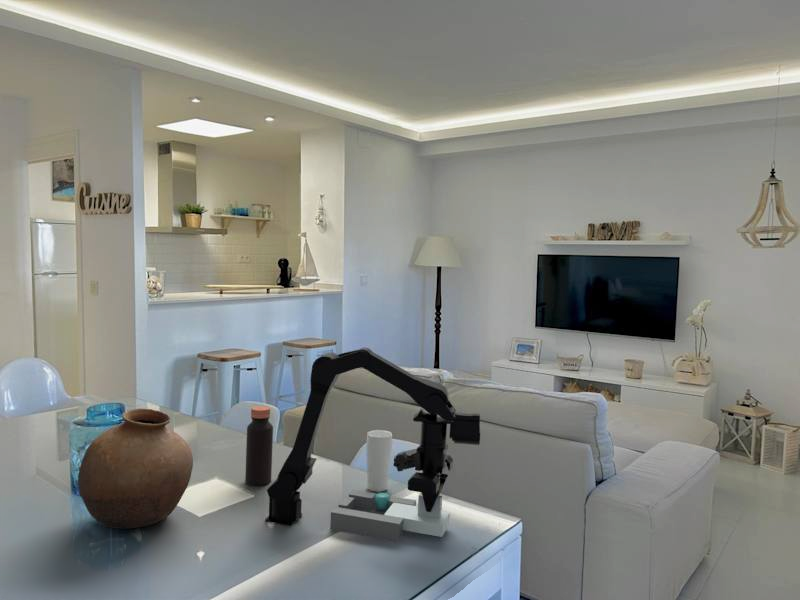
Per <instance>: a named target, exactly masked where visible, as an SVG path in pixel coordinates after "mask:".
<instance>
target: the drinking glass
mask: <svg viewBox="0 0 800 600" xmlns="http://www.w3.org/2000/svg"><path fill="white" fill-rule="evenodd" d="M365 449H366V469H367V470H366V471H367V472H366V473H367V485H366V486H367V489H368V490H369V491H371V492H373V493H376V492H377V493H382V492H384V491H386V490H387V488H388V480H389V475H390V474H389V472H390V466H391V460H392V459H391V457H392V450H393V433H392V432H391V431H388V430H385V429H384V430H383V429H374V430H370V431H367V435H366V448H365Z"/></svg>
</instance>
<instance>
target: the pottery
mask: <svg viewBox="0 0 800 600" xmlns="http://www.w3.org/2000/svg"><path fill="white" fill-rule="evenodd" d="M121 418H122V420H123V422H122V423H120V424H117V425H115V426H113V427H110V428H108V429H106V430H105V431H104V432H102V433H100V434H99V435H98V436H97V437H95V438H94V439H93V440H92V442H91V443H90V444H89V446H88V447H87V448H86V450H85V452H84V455H83V457H82V460H81V463H80V467H79V471H78V475H77V485H78V491H79V494H80V497H81V499H82V503H83V504H84V505H85V508H86V510H87V512H88V513H89V514H90V516H91V518H92V519H94V520H95V521H96V522H98V523H100V524H101V525H103V526H105V527H108V528H112V529H123V530H124V529H127V530H129V529H137V528H143V527H148V526H151V525H154V524H156V523H158V522H161V521H162V520H164V519H167V518H168V516H170V515H171V514H172V512H174V510H175V509H176V508H177V505H178V504H179V503H180V501H181V500H182V497H183V496H184V494H185V491H186V490H187V489H188V485H189V483H190V480H191V476H192V473H193V472H192V471H193V467H194V456H193V452H192V449H191V448H190V446H189V444H188V443H187V441H185V439H184V438H183V437H182V436H181V435H179V433H177V432H175V431H174V430H172V429H171V428H169V427H167V425H168V424H170V422H171V417H170V415H168V413H165V412H163V411H160V410H155V409H150V408H135V409H130V410H127V411H124V412H123V413H122V414H121Z"/></svg>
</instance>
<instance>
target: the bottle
mask: <svg viewBox="0 0 800 600" xmlns="http://www.w3.org/2000/svg"><path fill="white" fill-rule="evenodd" d="M250 417H251V422H250V423H249V424H248V425H247V427H246V445H245V446H246V450H245V477H244V479H245V481H244V482H245V483H246V484H247V485H248V486H253V487H256V486H257V487H259V486H260V487H261V486H262V487H263V486H264V485H265V486H266V485H268V484H269V483H271V482H272V470H273V469H272V468H273V467H272V465H273V441H274V440H273V439H274V435H273V434H274V426H273V424H272V423H270V421H269V419H270V417H271V407H269V406H265V405H264V406H263V405H258V406H253V407H251V410H250Z"/></svg>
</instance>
